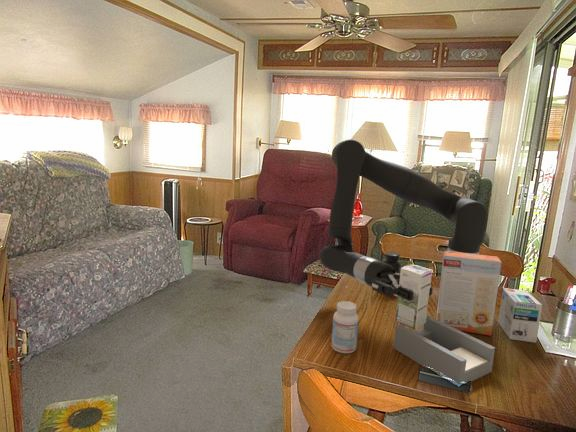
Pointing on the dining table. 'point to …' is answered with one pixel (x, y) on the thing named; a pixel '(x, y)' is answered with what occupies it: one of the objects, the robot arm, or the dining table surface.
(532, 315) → the light bulb box
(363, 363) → the dining table surface
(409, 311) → the syrup box
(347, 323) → the pill bottle
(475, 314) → the cracker box
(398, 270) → the supplement bottle
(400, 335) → the trap lane
